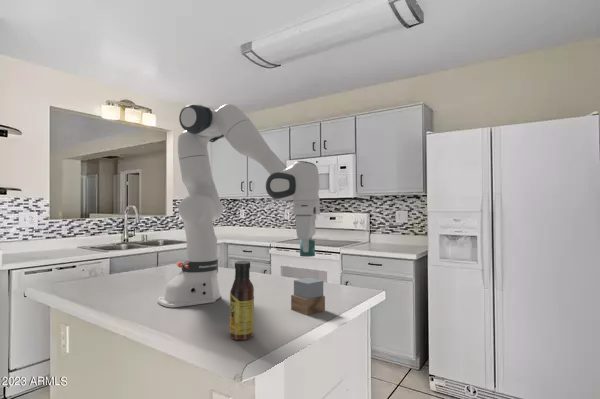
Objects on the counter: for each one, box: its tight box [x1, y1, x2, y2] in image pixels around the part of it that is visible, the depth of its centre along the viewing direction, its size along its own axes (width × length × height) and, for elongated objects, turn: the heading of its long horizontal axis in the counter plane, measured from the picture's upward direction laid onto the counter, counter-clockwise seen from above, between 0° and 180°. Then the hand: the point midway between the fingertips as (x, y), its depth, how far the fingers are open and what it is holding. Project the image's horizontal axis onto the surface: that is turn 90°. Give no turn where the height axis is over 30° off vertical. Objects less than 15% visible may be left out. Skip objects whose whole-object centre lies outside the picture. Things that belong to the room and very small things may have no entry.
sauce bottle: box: [229, 260, 255, 341], centre depth 94 cm, size 7×6×20 cm
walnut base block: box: [290, 294, 326, 316], centre depth 119 cm, size 8×8×5 cm
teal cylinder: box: [299, 239, 316, 258], centre depth 119 cm, size 5×5×5 cm
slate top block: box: [293, 277, 324, 299], centre depth 119 cm, size 7×7×5 cm
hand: (307, 250), depth 119 cm, fingers closed on teal cylinder, 5 cm apart
